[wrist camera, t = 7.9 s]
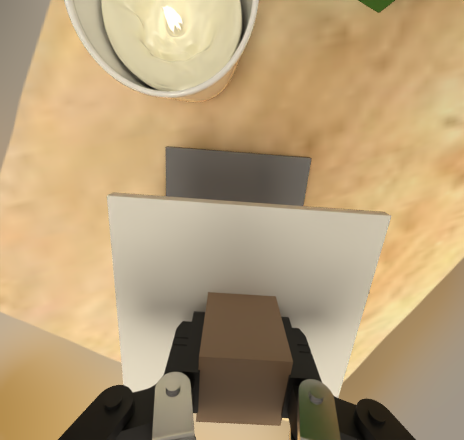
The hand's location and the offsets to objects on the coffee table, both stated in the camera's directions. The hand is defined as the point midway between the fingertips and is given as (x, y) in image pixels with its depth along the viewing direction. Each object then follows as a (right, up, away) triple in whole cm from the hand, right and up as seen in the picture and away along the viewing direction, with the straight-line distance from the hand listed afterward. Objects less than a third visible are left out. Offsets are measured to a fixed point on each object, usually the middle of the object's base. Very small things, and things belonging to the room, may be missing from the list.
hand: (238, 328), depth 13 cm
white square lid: (0, 0, +1) cm, 1 cm away
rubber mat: (0, +6, +16) cm, 17 cm away
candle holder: (-4, +21, +11) cm, 24 cm away
